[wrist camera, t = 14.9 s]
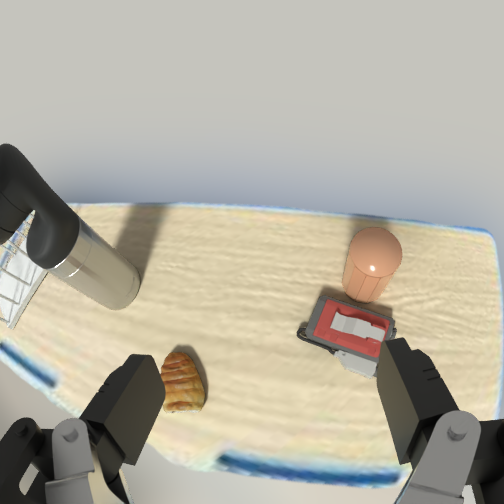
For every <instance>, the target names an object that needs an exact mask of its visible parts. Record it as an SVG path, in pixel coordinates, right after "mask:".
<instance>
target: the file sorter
mask: <svg viewBox="0 0 504 504" xmlns="http://www.w3.org/2000/svg"><path fill="white" fill-rule="evenodd" d="M29 215H30V216H31V217H32V218H34V216H33V215H32V214H31V213H30V214H29ZM23 223H24V224H26V225H27V226H28V227H29V228H30V226H31V225H30V224H29V223H27V222H26V221H25V220H24V221H23ZM15 232H17V233H18V234H19V235H21V236H22V237H24V238H25V239H24V240H23V242H22V243H21V245H20V246H19V247H17V246H16V245H15V244H13V243H12V242H11V241H10V240H9V239H8V240H7V242H8V243H9V244H10V245H11V246H13V247H14V248H15V249H17V251H16V252H15V253H13V252H12V251H10V250H9V249H8V248H6V247H5V246H3V245H2V244H1V245H0V246H1V247H2V248H4V249H5V250H7V251H8V252H10V253H11V254H13V255H14V256H13V257H12V259H11V260H10V262H9V263H8V265H7V267H6V268H5V269H3V268H2V267H0V270H1V271H3V273H2V275H1V277H0V308H1V311H2V313H3V316H4V319H3V318H1V317H0V320H1V321H3V322H6V324H7V326H8V328H10V329H14V327H15V325H16V323H17V321H18V319H19V318H20V316H21V314H22V312H23V311H24V309H25V307H26V306H27V304H28V302H29V301H30V299H31V297H32V296H33V294H34V292H35V291H36V289H37V288H38V286H39V285H40V283H41V282H42V280H43V278H44V277H45V275H46V274H47V273H48V272H47V271H46V270H44V269H43V268H41V267H39V266H38V265H36V264H35V263H34V262H33V261H31V259H30V258H29V257H28V254H27V251H26V240H27V236H24V235H23V234H22V233H20V232H19V231H18V230H16V231H15ZM27 235H28V234H27Z"/></svg>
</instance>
